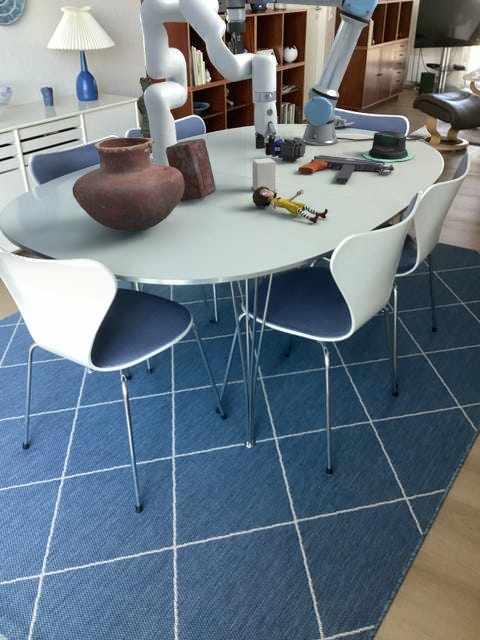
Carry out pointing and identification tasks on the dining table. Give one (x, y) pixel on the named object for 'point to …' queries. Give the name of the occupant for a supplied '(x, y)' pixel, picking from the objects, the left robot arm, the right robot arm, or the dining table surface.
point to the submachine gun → (343, 166)
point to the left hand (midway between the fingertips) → (265, 151)
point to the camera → (338, 120)
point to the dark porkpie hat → (388, 147)
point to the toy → (289, 149)
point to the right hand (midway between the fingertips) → (238, 78)
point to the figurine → (284, 203)
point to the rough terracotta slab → (192, 168)
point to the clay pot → (128, 186)
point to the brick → (264, 173)
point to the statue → (144, 108)
